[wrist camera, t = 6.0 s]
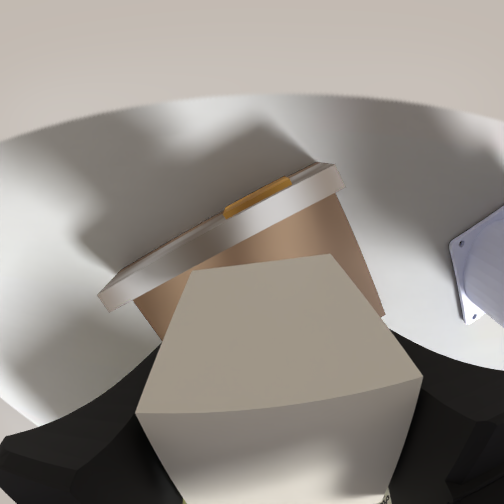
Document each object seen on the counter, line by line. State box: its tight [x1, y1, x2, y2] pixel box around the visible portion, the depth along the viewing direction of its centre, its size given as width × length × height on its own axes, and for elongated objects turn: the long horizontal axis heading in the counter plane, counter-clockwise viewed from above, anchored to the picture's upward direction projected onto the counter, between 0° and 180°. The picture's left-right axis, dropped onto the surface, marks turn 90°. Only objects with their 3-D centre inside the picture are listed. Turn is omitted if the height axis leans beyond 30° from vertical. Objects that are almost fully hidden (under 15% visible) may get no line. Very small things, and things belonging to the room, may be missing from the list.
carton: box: [135, 254, 423, 504], centre depth 9 cm, size 5×5×7 cm
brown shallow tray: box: [98, 162, 385, 341], centre depth 18 cm, size 14×11×4 cm
